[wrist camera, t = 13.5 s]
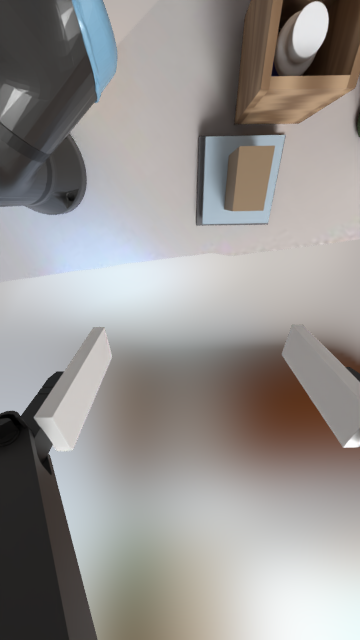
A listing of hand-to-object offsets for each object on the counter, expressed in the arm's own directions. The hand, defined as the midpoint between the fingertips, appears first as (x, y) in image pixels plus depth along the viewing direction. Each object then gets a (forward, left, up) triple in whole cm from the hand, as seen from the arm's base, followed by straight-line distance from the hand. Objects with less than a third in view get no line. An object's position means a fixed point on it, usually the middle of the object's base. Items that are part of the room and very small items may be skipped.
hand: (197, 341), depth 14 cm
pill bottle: (+14, +25, -35) cm, 45 cm away
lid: (+10, +11, -34) cm, 37 cm away
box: (+14, +25, -35) cm, 45 cm away
